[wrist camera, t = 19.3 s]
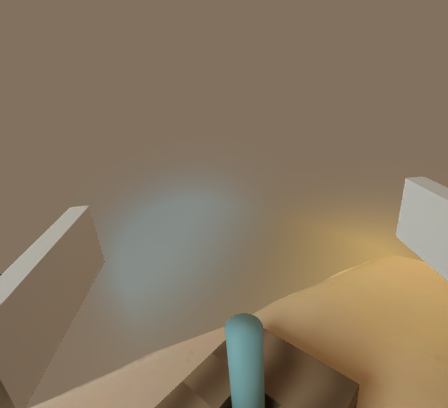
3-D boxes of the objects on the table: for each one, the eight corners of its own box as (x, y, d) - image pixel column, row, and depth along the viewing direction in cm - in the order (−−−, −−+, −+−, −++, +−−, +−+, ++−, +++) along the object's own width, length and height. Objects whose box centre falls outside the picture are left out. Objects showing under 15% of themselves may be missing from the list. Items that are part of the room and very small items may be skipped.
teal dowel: (271, 432, 35) (270, 324, 28) (252, 459, 32) (246, 349, 26) (247, 411, 37) (241, 308, 31) (228, 436, 34) (217, 329, 28)
